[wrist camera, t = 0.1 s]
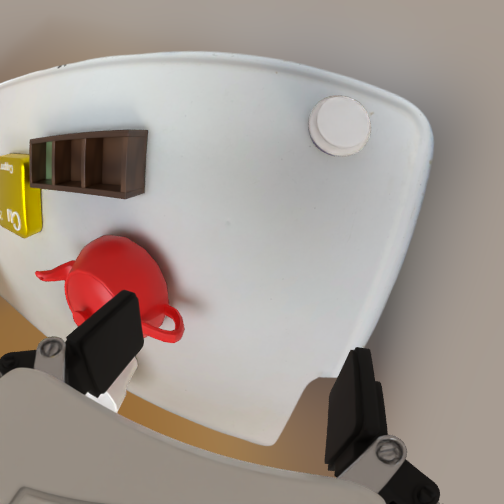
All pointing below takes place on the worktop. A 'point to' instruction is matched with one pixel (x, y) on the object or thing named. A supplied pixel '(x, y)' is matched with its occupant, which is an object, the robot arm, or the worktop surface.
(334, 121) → the pill bottle
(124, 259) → the teapot
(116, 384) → the cup
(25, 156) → the element tile
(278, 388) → the worktop surface
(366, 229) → the worktop surface
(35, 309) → the worktop surface
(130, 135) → the rack
